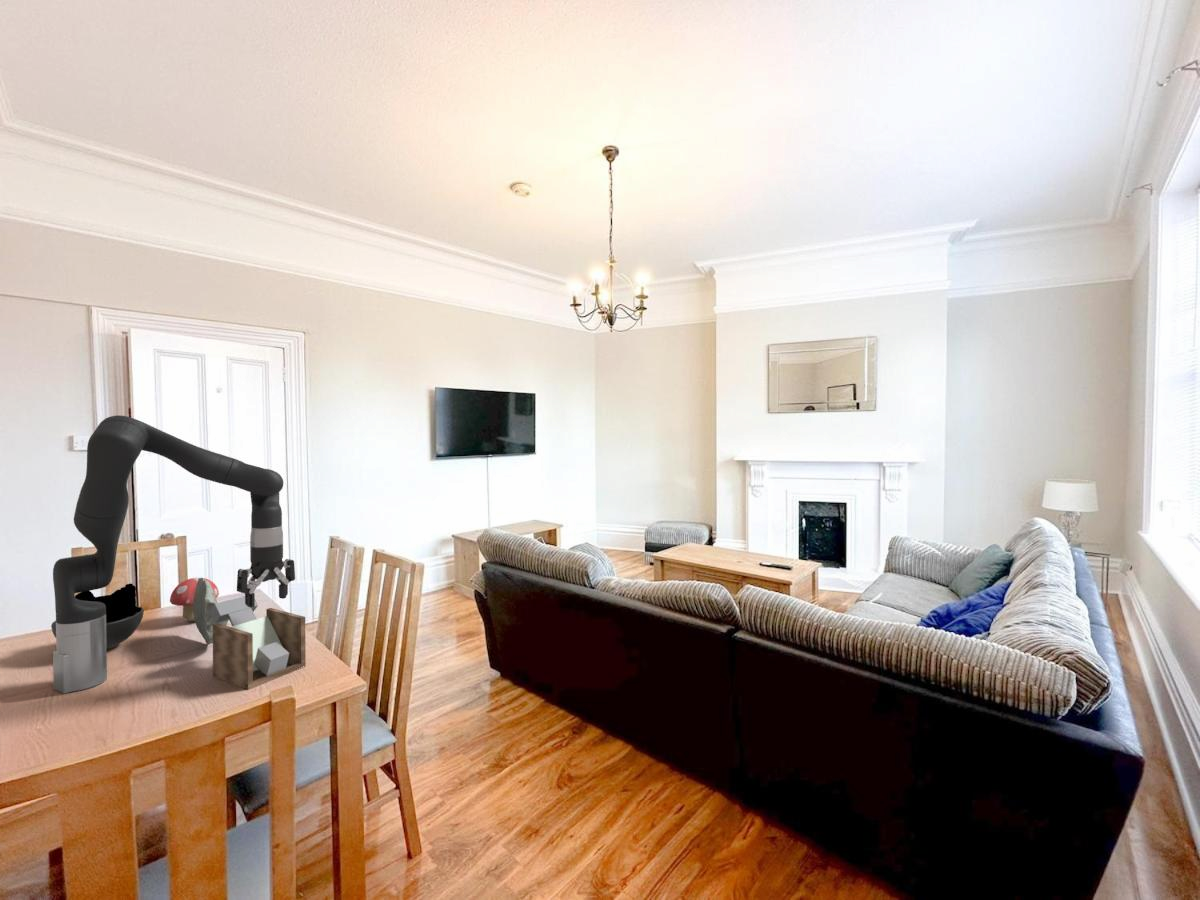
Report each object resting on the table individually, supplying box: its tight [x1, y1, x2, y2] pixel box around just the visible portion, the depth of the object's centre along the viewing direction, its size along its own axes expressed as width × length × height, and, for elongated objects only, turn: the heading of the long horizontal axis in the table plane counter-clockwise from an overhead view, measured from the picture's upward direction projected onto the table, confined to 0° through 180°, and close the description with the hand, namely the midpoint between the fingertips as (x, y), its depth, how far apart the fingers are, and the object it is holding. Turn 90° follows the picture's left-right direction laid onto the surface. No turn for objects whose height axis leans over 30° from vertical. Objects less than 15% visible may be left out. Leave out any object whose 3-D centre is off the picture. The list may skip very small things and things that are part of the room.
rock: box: [193, 577, 229, 646], centre depth 162 cm, size 27×6×20 cm, turn 48°
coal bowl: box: [50, 583, 145, 650], centre depth 158 cm, size 20×20×19 cm
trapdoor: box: [209, 595, 283, 673], centre depth 148 cm, size 22×12×4 cm
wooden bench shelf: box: [212, 607, 306, 690], centre depth 145 cm, size 16×15×14 cm
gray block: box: [254, 642, 289, 676], centre depth 142 cm, size 5×5×6 cm
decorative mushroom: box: [169, 577, 220, 623], centre depth 182 cm, size 13×13×15 cm
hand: (267, 602), depth 143 cm, fingers open, 8 cm apart
